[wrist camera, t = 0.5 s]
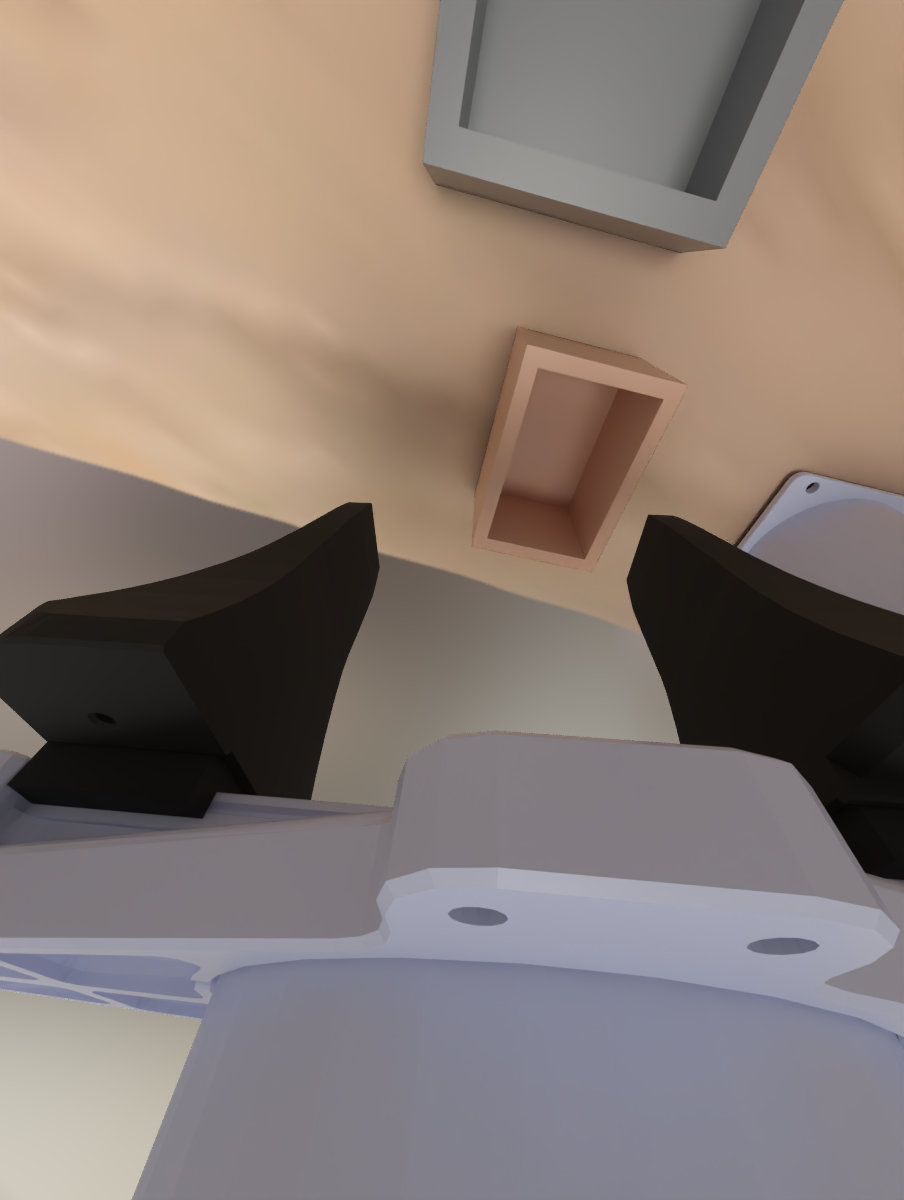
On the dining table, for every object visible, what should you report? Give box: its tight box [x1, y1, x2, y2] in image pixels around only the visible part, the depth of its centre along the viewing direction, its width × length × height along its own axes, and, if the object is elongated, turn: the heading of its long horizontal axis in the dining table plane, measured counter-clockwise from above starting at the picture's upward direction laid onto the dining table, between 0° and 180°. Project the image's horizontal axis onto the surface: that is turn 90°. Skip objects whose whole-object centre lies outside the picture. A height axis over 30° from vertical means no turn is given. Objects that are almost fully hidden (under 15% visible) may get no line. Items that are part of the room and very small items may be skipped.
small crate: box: [472, 327, 688, 572], centre depth 16 cm, size 5×7×5 cm
